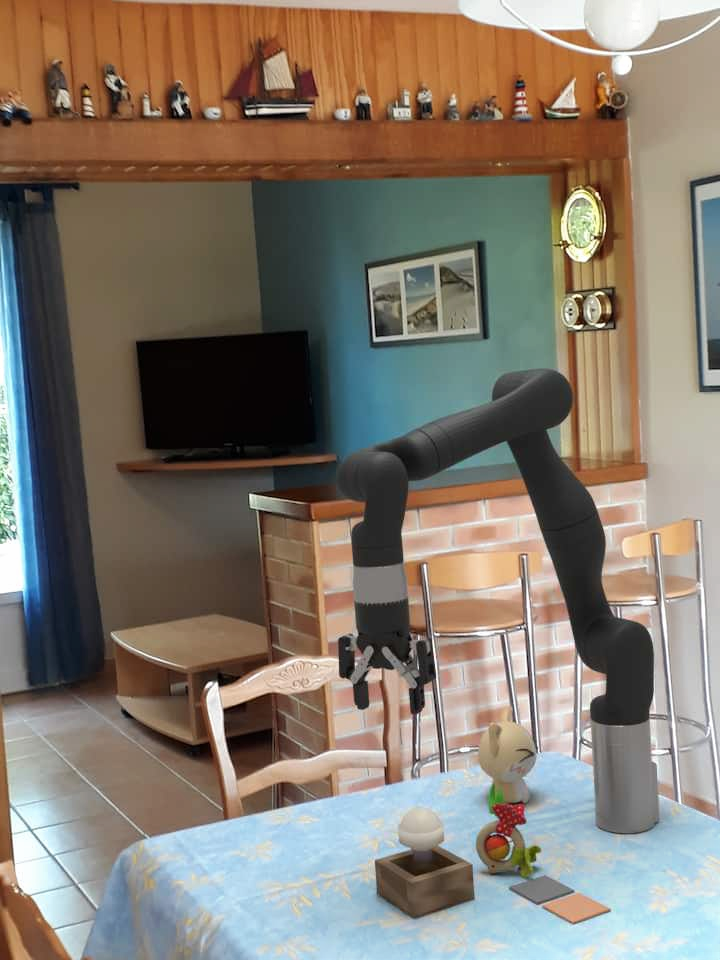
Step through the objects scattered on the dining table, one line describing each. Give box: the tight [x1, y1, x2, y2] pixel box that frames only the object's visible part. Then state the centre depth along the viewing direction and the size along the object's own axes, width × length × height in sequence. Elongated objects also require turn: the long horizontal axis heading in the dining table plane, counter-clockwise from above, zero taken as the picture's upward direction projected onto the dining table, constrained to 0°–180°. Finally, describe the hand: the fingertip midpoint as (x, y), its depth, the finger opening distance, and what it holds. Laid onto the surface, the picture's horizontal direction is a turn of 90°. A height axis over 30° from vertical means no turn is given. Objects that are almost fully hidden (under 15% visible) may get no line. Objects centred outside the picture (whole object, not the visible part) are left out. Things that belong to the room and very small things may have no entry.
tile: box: [541, 892, 612, 925], centre depth 162 cm, size 6×6×1 cm
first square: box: [508, 874, 575, 905], centre depth 168 cm, size 6×6×1 cm
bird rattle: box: [475, 803, 542, 879], centre depth 174 cm, size 6×11×9 cm
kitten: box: [477, 706, 539, 817], centre depth 204 cm, size 15×10×15 cm
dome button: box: [397, 806, 445, 863], centre depth 168 cm, size 6×6×7 cm
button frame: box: [374, 845, 476, 920], centre depth 168 cm, size 10×10×5 cm
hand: (389, 710), depth 166 cm, fingers open, 8 cm apart
